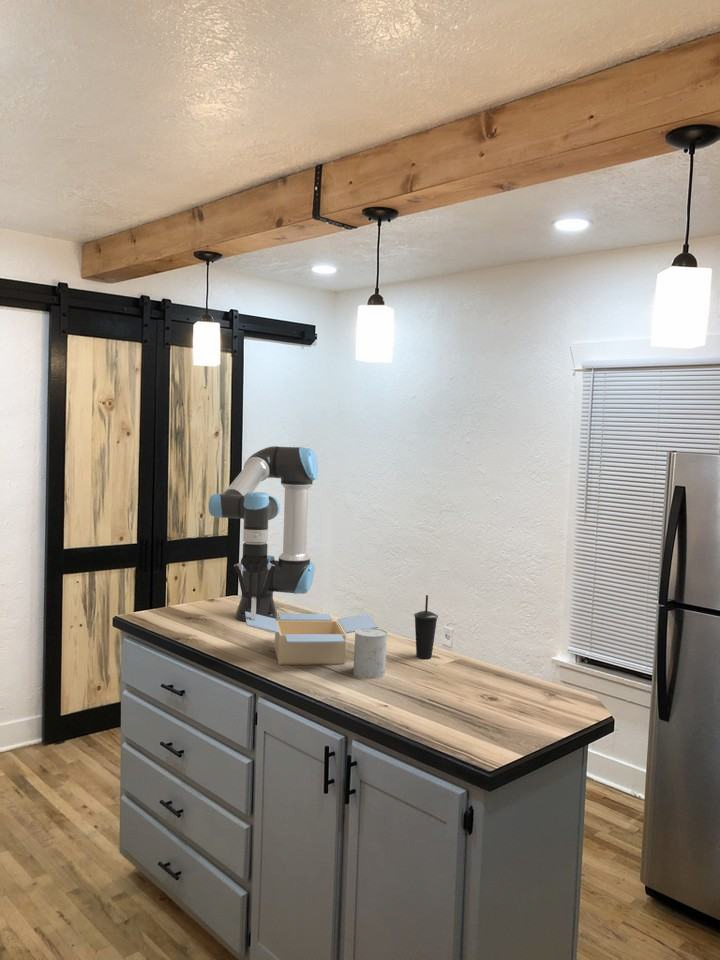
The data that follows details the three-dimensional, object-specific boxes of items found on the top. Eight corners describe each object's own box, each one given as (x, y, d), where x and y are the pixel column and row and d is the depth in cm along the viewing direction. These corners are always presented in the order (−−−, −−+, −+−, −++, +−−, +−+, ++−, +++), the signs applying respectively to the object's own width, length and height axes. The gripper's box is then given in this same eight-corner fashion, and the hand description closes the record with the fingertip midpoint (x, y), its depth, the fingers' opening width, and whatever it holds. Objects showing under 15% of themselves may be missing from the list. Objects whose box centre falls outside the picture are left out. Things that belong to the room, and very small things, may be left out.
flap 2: (367, 613, 251) (367, 615, 251) (337, 618, 250) (337, 620, 250) (377, 626, 235) (378, 628, 235) (346, 632, 233) (346, 633, 233)
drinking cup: (408, 657, 243) (411, 595, 242) (417, 652, 250) (420, 591, 249) (430, 662, 240) (433, 599, 239) (439, 656, 246) (442, 595, 245)
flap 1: (275, 618, 246) (275, 619, 246) (245, 611, 244) (244, 612, 244) (279, 632, 229) (278, 633, 229) (247, 624, 227) (246, 625, 227)
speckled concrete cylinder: (386, 669, 230) (388, 629, 229) (384, 679, 220) (386, 637, 219) (354, 667, 231) (356, 627, 230) (351, 677, 221) (353, 635, 220)
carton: (272, 641, 255) (274, 613, 255) (332, 641, 259) (333, 613, 258) (280, 673, 221) (282, 641, 221) (348, 672, 225) (350, 641, 224)
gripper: (234, 544, 230) (232, 621, 231) (277, 544, 232) (275, 621, 234) (233, 540, 237) (231, 615, 239) (275, 541, 240) (273, 615, 241)
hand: (253, 618), depth 236 cm, fingers closed
